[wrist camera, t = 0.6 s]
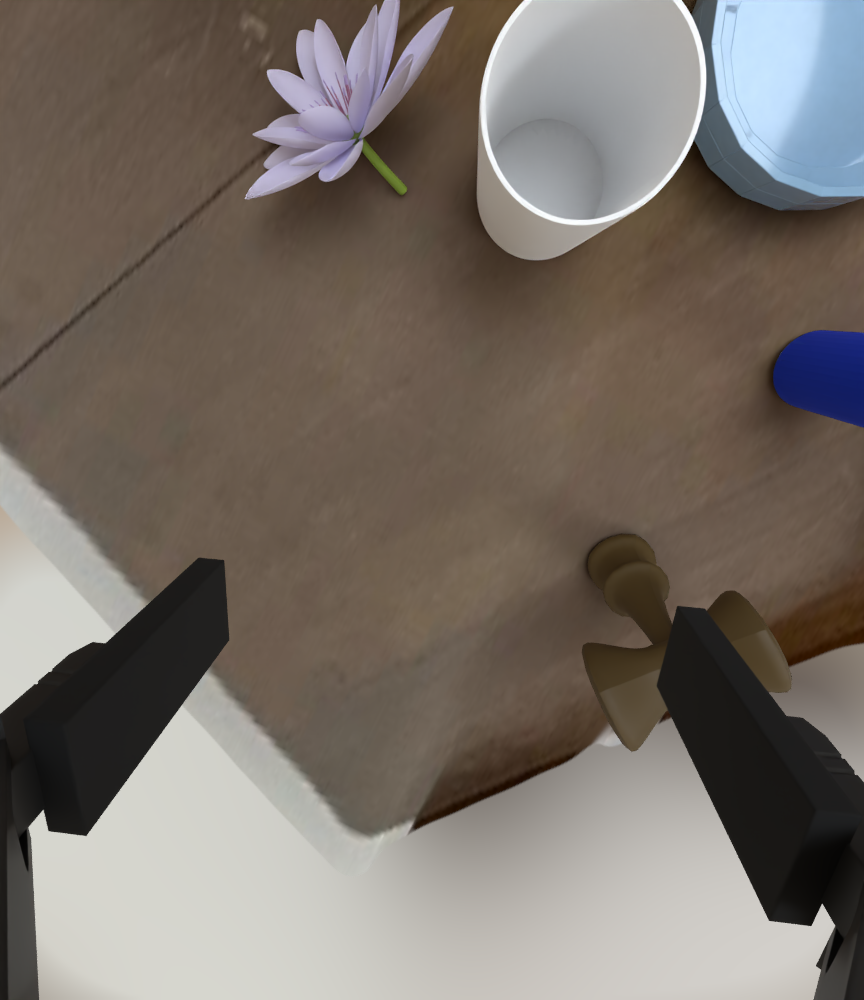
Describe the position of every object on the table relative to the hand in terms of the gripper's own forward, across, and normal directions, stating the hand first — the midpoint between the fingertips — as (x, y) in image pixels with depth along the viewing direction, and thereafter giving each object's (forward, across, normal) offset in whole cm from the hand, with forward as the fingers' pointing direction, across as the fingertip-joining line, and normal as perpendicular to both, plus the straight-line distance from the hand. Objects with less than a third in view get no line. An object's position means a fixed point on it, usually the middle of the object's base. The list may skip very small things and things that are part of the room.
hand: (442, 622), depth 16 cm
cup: (+27, +4, +16) cm, 31 cm away
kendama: (+26, +13, -9) cm, 31 cm away
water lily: (+27, -9, +19) cm, 34 cm away
